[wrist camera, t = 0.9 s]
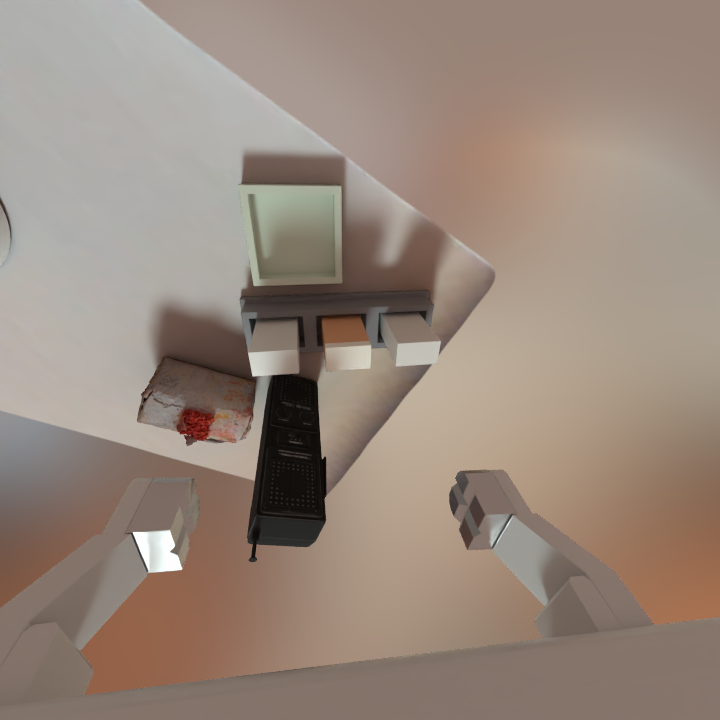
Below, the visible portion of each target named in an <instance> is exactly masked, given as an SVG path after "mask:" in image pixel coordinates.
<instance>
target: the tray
mask: <svg viewBox="0 0 720 720" xmlns="http://www.w3.org/2000/svg"><path fill="white" fill-rule="evenodd" d="M238 190H239V196H240V203H241V209H242V215H243V222H244V228H245V235H246V241H247V247H248V254H249V260H250V266H251V273H252V279H253V285H254V286H274V285H305V284H337V283H342V191H341V186H340V185H325V184H245V183H241V184H239V185H238Z"/></svg>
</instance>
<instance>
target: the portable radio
mask: <svg viewBox="0 0 720 720" xmlns="http://www.w3.org/2000/svg"><path fill="white" fill-rule="evenodd" d="M325 497H326V457H324V459H322V457H321V442H320V426H319V410H318V386H317V383H316V382H315V381H311V380H307V379H303V378H299V377H294V376H290V375H285V374H280V375H273V377H272V380H271V383H270V386H269V389H268V393H267V399H266V405H265V411H264V419H263V427H262V434H261V441H260V449H259V456H258V463H257V471H256V478H255V485H254V493H253V500H252V506H251V512H250V519H249V527H248V535H247V538H248V543H250V544H253V547H252V556H251V558H250V559H249V561H250V562H255V561H256V560H257V558H256V557H255V552H256V544H259V545H277V546H295V547H308V546H310V545H311V544H313V543H314V542H315V541H316V539H317V537H318V536H319V534H320V532H321V530H322V528H323V526H324V524H325V522H326V514H325V500H324V499H325Z"/></svg>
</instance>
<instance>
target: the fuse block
mask: <svg viewBox="0 0 720 720" xmlns="http://www.w3.org/2000/svg"><path fill="white" fill-rule="evenodd" d="M429 297H430V292H429V291H428V290H419V291H391V292H363V293H335V294H308V295H280V296H252V297H241V298H240V305H241V310H242V311H241V317H242V322H243V328H244V333H245V338H246V344H247V349H248V355H249V360H250V366H251V371H252V376H266V375H280V374H295V373H299V353H308V352H324V348H323V341H322V333H321V315H342V314H359V315H360V317H361V320H362V323H363V325H364V328H365V330H366V333H367V336H368V338H369V341H370V343H371V349H373V348H387V349H388V351H389V353H390V355H391V357H392V359H393V362H394V364H395V366H409V365H423V364H437V359H438V354H439V349H440V343H441V341H440V339H439V338H438V337H437V336H436V334H435V333H434V332H433V330H432V329H431V328H430V327H431V320H432V313H433V306H434V304H433V303H432V302H431V301H430V300H429Z"/></svg>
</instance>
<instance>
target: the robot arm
mask: <svg viewBox="0 0 720 720" xmlns="http://www.w3.org/2000/svg"><path fill="white" fill-rule="evenodd" d="M10 240H11V238H10V229H9V225H8V221H7V218H6V215H5V213H4V211H3V209H2V206H1V205H0V266H1V264H2V263H3V262H4V261H5V259H6V257H7V255H8V252H9V249H10ZM455 479H456V481H457V484H455V485H454V486H453V487H452V488H451V491H450V494H449V498H450V499H449V502H450V507H451V511H452V513H453V515H454V517H455V518H456V519H457V520H458V521H459V522H461V524H460V528H459V531H460V533H461V536H462V538H463V541H464V543H465V546H466V548H467V550H483V549H493V550H492V551H493V552H494V553H495V554H496V555H497V556H498V557H499V559H500V560H501V561H502V562H503V563H504V564H505V565H506V566H507V567H508V568H509V569H510V570H511V571H512V572H513V573H514V574H515V575H516V577H517V578H518V579H519V580H520V581H521V582H522V583H523V584H524V585H525V586H526V587H527V588H528V589H529V590H530V591H531V592H532V593H533V594H534V595H535V597H536V598H538V600H539V601H540V602H541V603H542V604H543V605H544V606H545V607H544V608H543V609H542V610H541V611H540V612H539V614H538V615H537V616H536V618H535V621H534V622H535V624H536V626H537V628H538V630H539V632H540V634H541V637H542V639H537V640H529V641H521V642H513V643H504V644H496V645H488V646H480V647H472V648H464V649H456V650H448V651H439V652H431V653H423V654H415V655H407V656H399V657H391V658H383V659H375V660H366V661H359V662H350V663H343V664H334V665H327V666H318V667H310V668H301V669H294V670H286V671H278V672H269V673H261V674H253V675H245V676H237V677H229V678H220V679H212V680H204V681H196V682H189V683H180V684H172V685H164V686H156V687H148V688H140V689H131V690H124V691H115V692H107V693H99V694H91V695H85V692H86V690H87V688H88V685H89V683H90V680H91V678H92V676H93V673H94V670H93V667H92V665H91V664H90V663H89V662H88V660H87V659H86V658H85V657H84V656H83V654H82V653H81V652H80V650H81V649H82V648H83V647H84V646H85V644H87V642H88V641H89V640H90V639H91V638H92V636H94V635H95V633H96V632H97V631H98V630H99V629H100V628H101V627H102V626H103V624H104V623H105V622H106V621H107V620H108V619H109V618H110V617H111V616H112V614H113V613H114V612H115V611H116V610H117V609H118V608H119V607H120V605H121V604H122V603H123V602H124V601H125V600H126V599H127V598H128V596H129V595H130V594H131V593H132V592H133V591H134V590H135V589H136V588H137V586H138V585H139V584H140V583H141V582H142V581H143V580H144V579H145V578H146V576H147V575H148V574H147V573H152V572H162V571H172V570H182V568H183V565H184V562H185V559H186V556H187V553H188V549H189V546H190V543H189V539H188V535H189V534H190V533H192V531H193V530H195V527H196V524H197V520H198V515H199V509H200V505H199V504H200V501H199V496H198V495H197V494H196V493H194V491H195V488H196V482H195V479H194V478H135V479H134V480H133V481H132V482H131V483H130V484H129V486H128V488H127V490H126V491H125V493H124V495H123V497H122V499H121V500H120V502H119V504H118V505H117V507H116V509H115V511H114V512H113V514H112V516H111V518H110V520H109V521H108V523H107V525H106V527H105V528H104V530H103V532H102V534H101V535H95V536H93V537H92V538H90V539H89V540H88V541H87V542H85V543H84V544H83V545H82V546H80V547H79V548H78V549H76V550H75V551H74V552H72V553H71V554H70V555H68V556H67V557H66V558H65V559H63V560H62V561H61V562H59V563H58V564H57V565H56V566H54V567H53V568H52V569H50V570H49V571H48V572H46V573H45V574H44V575H43V576H41V577H40V578H39V579H37V580H36V581H35V582H34V583H32V584H31V585H30V586H28V587H27V588H26V589H25V590H23V591H22V592H21V593H19V594H18V595H17V596H15V597H14V598H13V599H11V600H10V601H9V602H8V603H6V604H5V605H4V606H2V607H1V608H0V720H720V617H715V618H708V619H700V620H691V621H683V622H675V623H667V624H659V625H654V624H653V622H652V621H651V620H650V618H649V617H648V615H647V614H646V613H645V611H644V610H643V609H642V608H641V606H640V605H639V603H638V602H637V601H636V599H635V598H634V597H633V595H632V594H631V592H630V591H629V590H628V588H627V587H626V586H625V584H624V583H623V582H622V580H621V579H620V577H619V576H618V575H617V573H616V572H615V571H613V570H612V569H611V568H610V567H608V566H607V565H605V564H604V563H603V562H601V561H600V560H599V559H597V558H596V557H595V556H593V555H592V554H591V553H589V552H588V551H587V550H585V549H584V548H582V547H581V546H580V545H578V544H577V543H576V542H574V541H573V540H572V539H570V538H569V537H568V536H566V535H565V534H564V533H562V532H561V531H560V530H558V529H557V528H555V527H554V526H553V525H551V524H550V523H549V522H547V521H546V520H545V519H543V518H542V517H541V516H539V515H538V514H532V512H531V511H530V509H529V507H528V506H527V505H526V503H525V501H524V500H523V498H522V496H521V495H520V493H519V492H518V490H517V488H516V487H515V485H514V484H513V482H512V481H511V479H510V477H509V476H508V474H507V473H506V472H505V471H504V470H473V471H472V470H470V471H460V472H458V473H457V476H456V478H455Z"/></svg>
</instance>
